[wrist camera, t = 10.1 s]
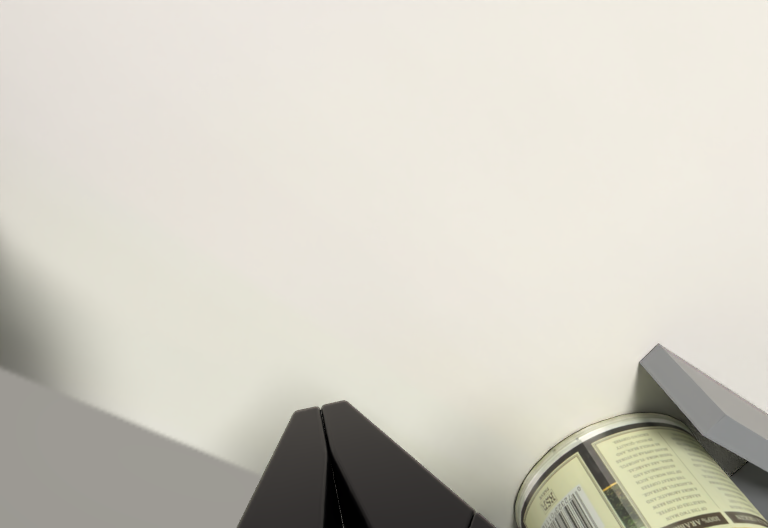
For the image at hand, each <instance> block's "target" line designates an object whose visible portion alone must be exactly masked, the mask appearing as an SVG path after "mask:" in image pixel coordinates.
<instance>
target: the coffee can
mask: <svg viewBox="0 0 768 528" xmlns="http://www.w3.org/2000/svg"><path fill="white" fill-rule="evenodd" d="M515 518H516V522H517V525H518V528H768V522H767V521H766V520H765V518H764V517H763V516H762V515H761V514H760V513H759V511H758V510H757V509H756V508H755V507H754V506H753V504H752V503H751V502H750V501H749V500H748V499H747V497H746V496H745V495H744V494H743V493H742V492H741V491H740V489H739V488H738V487H737V486H736V485H735V484H734V483H733V482H732V480H731V479H730V478H729V477H728V476H727V475H726V473H725V472H724V471H723V470H722V469H721V468H720V466H719V465H718V464H717V463H716V462H715V461H714V460H713V458H712V457H711V456H710V455H709V454H708V453H707V452H706V450H705V449H704V448H703V447H702V446H701V445H700V443H699V442H698V441H697V440H696V438H695V436H694V435H693V433H692V432H691V430H690V429H689V428H688V427H687V426H686V425H685V424H684V423H682V422H681V421H679V420H676V419H675V418H673V417H670V416H667V415H663V414H657V413H634V414H625V415H620V416H617V417H614V418H610V419H607V420H603V421H601V422H598V423H595V424H592V425H590V426H588V427H585V428H584V429H582V430H580V431H579V432H577V433H574V434H573V435H571V436H569V437H568V438H566V439H564V440H563V441H562V442H560V443H559V444H558V445H556V446H555V447H554V448H552V449H551V450H550V451H549V452H548V453H547V454H546V455H545V456H544V457H543V458H542V459H541V460H540V461H539V462H538V463H537V464H536V465H535V466H534V468H533V469H532V470H531V472H530V473H529V474H528V476H527V477H526V479H525V481H524V482H523V484H522V487H521V489H520V491H519V493H518V497H517V501H516V504H515Z"/></svg>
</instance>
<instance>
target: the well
mask: <svg viewBox="0 0 768 528" xmlns="http://www.w3.org/2000/svg"><path fill="white" fill-rule="evenodd" d="M640 364H641V365H642V366H643V367H644V368H645V370H646V371H647V372H648V373H649V374H650V375H651V376H652V378H653V379H654V380H655V381H656V382H657V383H658V385H659V386H660V387H661V388H662V389H663V390H664V391H665V393H666V394H667V395H668V396H669V397H670V398H671V399H672V401H673V402H674V403H675V404H676V405H677V406H678V407H679V409H680V410H681V411H682V412H683V413H684V414H685V416H686V417H687V418H688V419H689V420H690V421H691V422H692V424H693V425H694V426H695V427H696V428H697V429H698V430H699V432H700V433H701V434H702V435H703V436H704V437H706V438H708V439H710V440H712V441H713V442H715V443H717V444H719V445H720V446H722V447H724V448H726V449H728V450H729V451H731V452H733V453H735V454H737V455H738V456H740V457H742V458H744V459H745V460H747V461H749V462H748V463H746V464H745V465H744V466H743V467H742V468H741V469H739V470H738V471H737V472H736V473H735V474H734V475H732V476H731V477H730V479H731V480H732V482H733V483H734V484H735V485H736V486H737V487H738V488H739V489H740V491H741V492H742V493H743V494H744V495H745V496H746V497H747V499H748V500H749V501H750V502H751V503H752V504H753V506H754V507H755V508H756V509H757V510H758V511H759V513H760V514H761V515H762V516H763V517H764V518H765V520H766V521H767V522H768V414H767V413H765V412H763V411H762V410H760V409H759V408H757V407H756V406H754V405H753V404H751V403H750V402H748V401H746V400H745V399H743V398H742V397H740V396H739V395H737V394H736V393H734V392H733V391H731V390H729V389H728V388H726V387H725V386H723V385H722V384H720V383H719V382H717V381H715V380H714V379H712V378H711V377H709V376H708V375H706V374H705V373H703V372H702V371H700V370H698V369H697V368H695V367H694V366H692V365H691V364H689V363H688V362H686V361H685V360H683V359H681V358H680V357H678V356H677V355H675V354H674V353H672V352H671V351H669V350H668V349H666V348H664V347H663V346H661V345H660V344H658V345H657V346H656V347H655V348H654V349H653V350H652V351H651V352H650V353H649V354H648V355H647V356H646V357H645V358H644V359H643V360H642V361H641V362H640Z"/></svg>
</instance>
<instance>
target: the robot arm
mask: <svg viewBox="0 0 768 528" xmlns="http://www.w3.org/2000/svg"><path fill="white" fill-rule="evenodd" d="M321 412H322V414H321ZM322 418H323V419H322ZM323 423H324V424H323ZM324 428H325V429H324ZM325 433H326V434H325ZM334 480H335V481H334ZM335 485H336V486H335ZM336 490H337V491H336ZM337 495H338V497H337ZM338 501H339V502H338ZM339 506H340V507H339ZM340 511H341V512H340ZM341 516H342V518H341ZM342 521H343V523H342ZM343 526H344V528H496V527H495V526H494V525H493V524H491V523H490V522H489V521H488V520H487V519H486V518H484V517H483V516H482V515H481V514H480V513H476V512H475V510H474V509H473V508H472V507H470V506H469V505H468V504H467V503H466V502H465V501H463V500H462V499H461V498H460V497H459V496H458V495H456V494H455V493H454V492H453V491H452V490H451V489H449V488H448V487H447V486H446V485H445V484H443V483H442V482H441V481H440V480H439V479H438V478H436V477H435V476H434V475H433V474H432V473H431V472H429V471H428V470H427V469H426V468H425V467H424V466H422V465H421V464H420V463H419V462H418V461H417V460H415V459H414V458H413V457H412V456H411V455H410V454H408V453H407V452H406V451H405V450H404V449H402V448H401V447H400V446H399V445H398V444H397V443H395V442H394V441H393V440H392V439H391V438H390V437H388V436H387V435H386V434H385V433H384V432H383V431H381V430H380V429H379V428H378V427H377V426H376V425H374V424H373V423H372V422H371V421H370V420H369V419H367V418H366V417H365V416H364V415H363V414H361V413H360V412H359V411H358V410H357V409H356V408H354V407H353V406H352V405H351V404H350V403H349V402H347V401H345V400H343V401H338V402H334V403H329V404H325V405H323V406H322V408H321V410H320V408H319V407H311V408H307V409H302V410H298V411H295V412H294V413H293V415H292V417H291V419H290V421H289V423H288V425H287V427H286V429H285V431H284V433H283V435H282V437H281V439H280V441H279V443H278V445H277V447H276V449H275V451H274V453H273V455H272V457H271V459H270V461H269V463H268V465H267V467H266V469H265V471H264V473H263V476H262V478H261V480H260V482H259V484H258V486H257V488H256V490H255V492H254V494H253V496H252V498H251V500H250V502H249V504H248V506H247V508H246V510H245V512H244V514H243V516H242V518H241V520H240V522H239V524H238V526H237V528H343Z"/></svg>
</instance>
